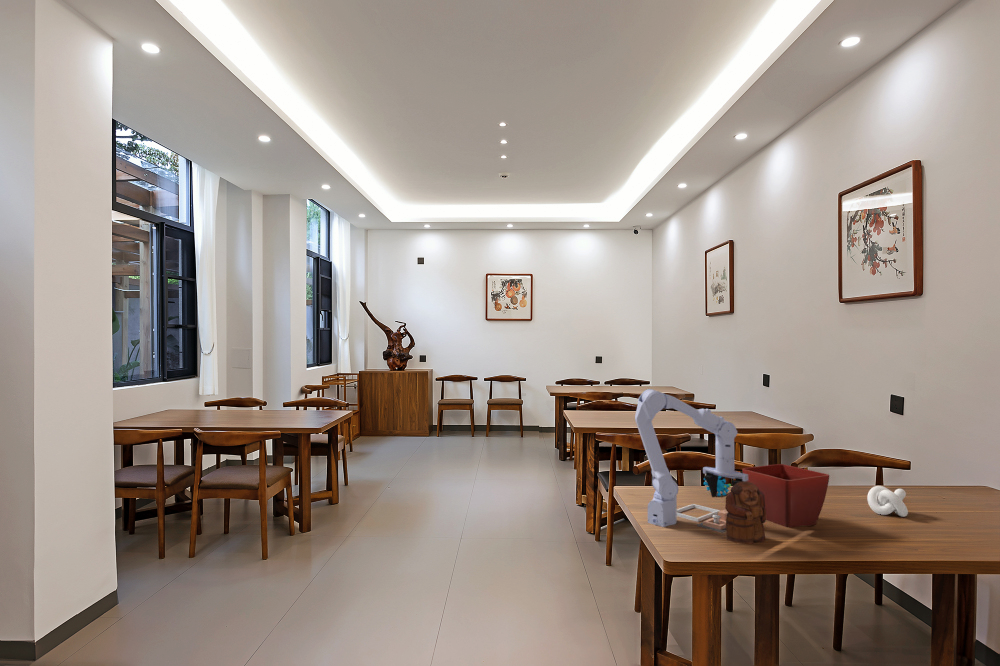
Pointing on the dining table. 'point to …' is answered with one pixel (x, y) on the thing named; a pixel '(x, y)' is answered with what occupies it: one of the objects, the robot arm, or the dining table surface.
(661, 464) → the robot arm
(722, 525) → the ring
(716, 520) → the grey plate with knob
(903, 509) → the white knot sculpture
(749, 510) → the wooden figurine
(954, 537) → the dining table surface
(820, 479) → the plant pot
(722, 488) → the gear
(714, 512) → the tray
